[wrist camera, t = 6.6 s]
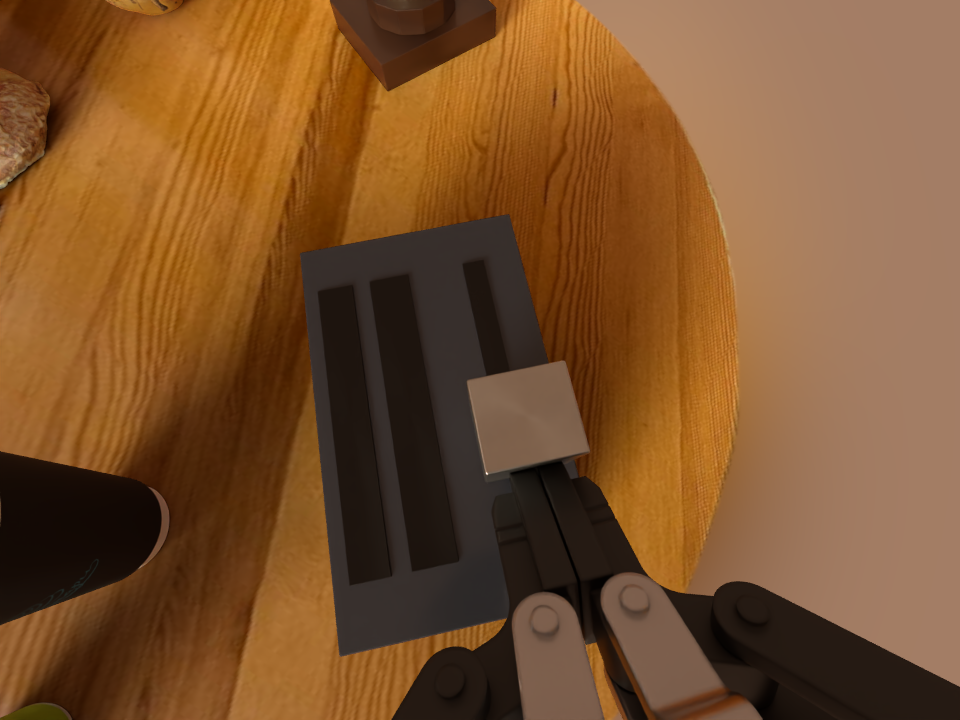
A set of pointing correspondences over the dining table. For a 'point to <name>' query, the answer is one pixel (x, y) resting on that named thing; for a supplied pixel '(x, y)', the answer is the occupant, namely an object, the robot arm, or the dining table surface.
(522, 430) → the toaster slider
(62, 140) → the dining table surface
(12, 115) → the bread roll
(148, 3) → the fruit
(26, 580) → the dixie cup
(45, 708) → the vape
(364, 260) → the toaster
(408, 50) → the block
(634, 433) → the dining table surface
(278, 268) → the dining table surface
